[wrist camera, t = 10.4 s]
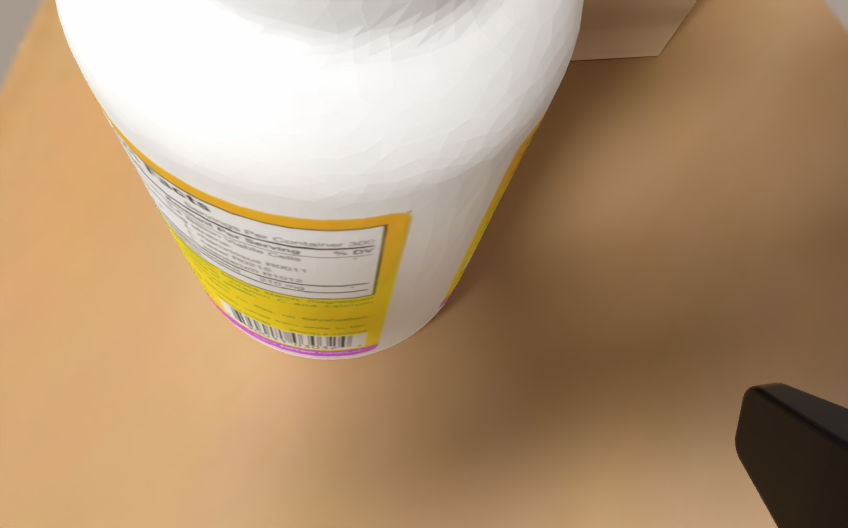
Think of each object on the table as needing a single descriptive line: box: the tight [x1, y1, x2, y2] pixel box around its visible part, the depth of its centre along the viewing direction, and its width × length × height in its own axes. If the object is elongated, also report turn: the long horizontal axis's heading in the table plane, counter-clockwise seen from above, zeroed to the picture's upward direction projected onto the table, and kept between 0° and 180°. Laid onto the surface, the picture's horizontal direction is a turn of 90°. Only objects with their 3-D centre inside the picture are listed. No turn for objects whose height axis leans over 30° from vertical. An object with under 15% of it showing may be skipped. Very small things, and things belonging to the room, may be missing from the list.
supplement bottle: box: [56, 0, 584, 360], centre depth 12 cm, size 7×7×13 cm
